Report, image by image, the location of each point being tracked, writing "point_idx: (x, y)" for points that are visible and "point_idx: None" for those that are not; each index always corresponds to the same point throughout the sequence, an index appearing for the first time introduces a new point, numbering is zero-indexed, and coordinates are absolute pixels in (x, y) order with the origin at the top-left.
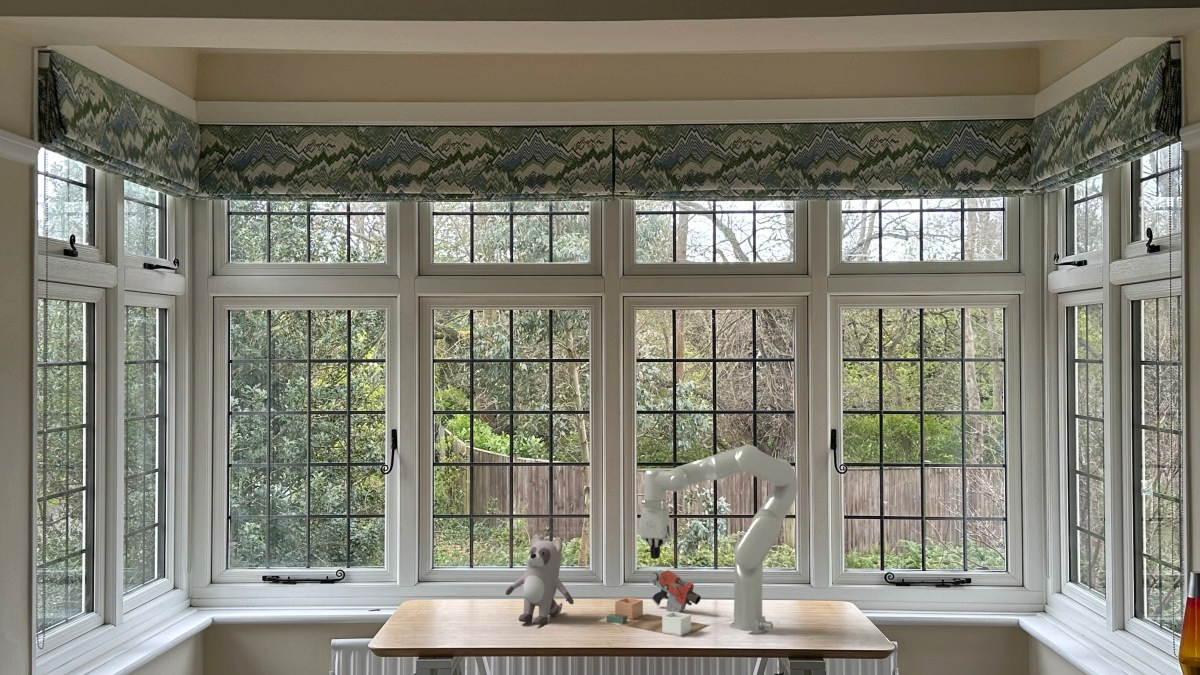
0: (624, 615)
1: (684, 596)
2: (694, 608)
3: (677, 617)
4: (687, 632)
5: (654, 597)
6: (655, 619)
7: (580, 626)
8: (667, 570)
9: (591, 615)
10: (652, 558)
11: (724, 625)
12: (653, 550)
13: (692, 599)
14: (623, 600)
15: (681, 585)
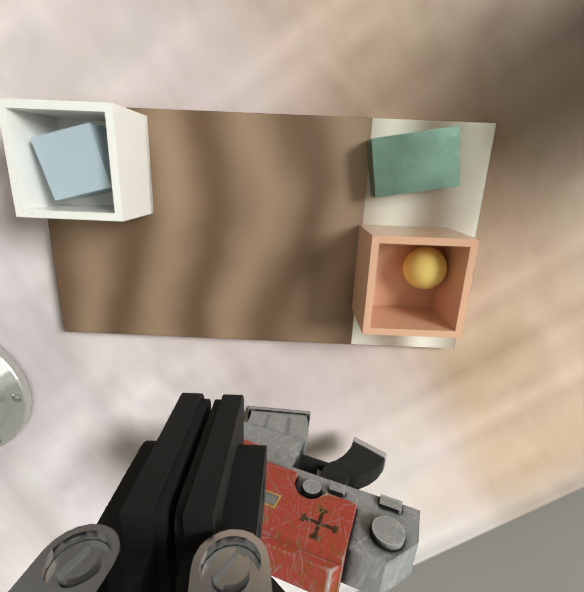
0: (385, 187)
1: None
2: None
3: (78, 180)
4: None
5: (374, 459)
6: (280, 288)
7: (548, 37)
8: (324, 590)
9: (569, 238)
10: (223, 396)
11: (60, 392)
12: (176, 471)
13: None
14: (457, 302)
15: None
